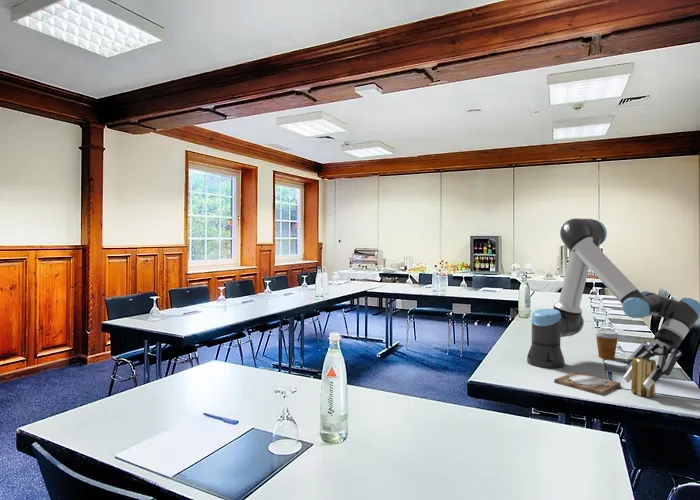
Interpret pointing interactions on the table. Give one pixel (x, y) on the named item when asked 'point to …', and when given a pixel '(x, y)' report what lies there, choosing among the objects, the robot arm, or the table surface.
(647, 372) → the brass pinion gear
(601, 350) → the disposable coffee cup
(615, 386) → the board
